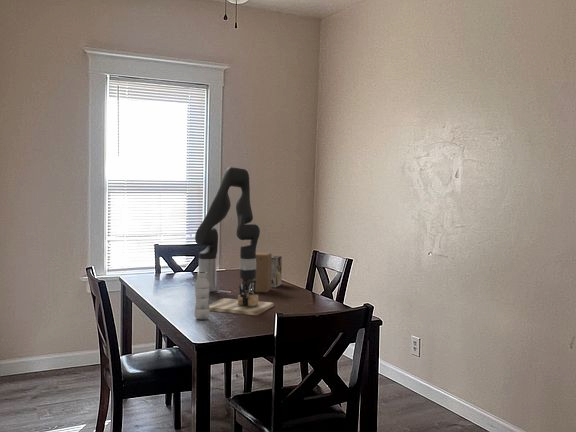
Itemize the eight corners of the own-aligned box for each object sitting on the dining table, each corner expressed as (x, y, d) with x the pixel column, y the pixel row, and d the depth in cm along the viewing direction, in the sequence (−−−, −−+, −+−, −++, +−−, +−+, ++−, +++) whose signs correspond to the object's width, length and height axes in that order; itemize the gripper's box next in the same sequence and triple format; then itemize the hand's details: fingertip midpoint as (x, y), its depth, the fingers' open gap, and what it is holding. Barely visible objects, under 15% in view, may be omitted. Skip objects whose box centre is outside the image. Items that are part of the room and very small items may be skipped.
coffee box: (270, 283, 329) (271, 255, 328) (281, 284, 327) (282, 256, 326) (265, 286, 320) (265, 257, 319) (276, 287, 318) (276, 258, 317)
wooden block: (267, 293, 303) (267, 255, 301) (248, 292, 305) (248, 254, 303) (271, 289, 313) (271, 252, 311) (253, 288, 315) (253, 251, 313)
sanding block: (237, 305, 266) (237, 295, 266) (242, 303, 271) (242, 293, 271) (253, 306, 264) (253, 296, 263) (258, 304, 268) (258, 294, 268)
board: (204, 310, 264) (204, 306, 264) (223, 301, 283) (223, 298, 283) (257, 315, 255) (257, 312, 255) (273, 305, 274) (273, 302, 274)
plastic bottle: (194, 317, 251) (194, 271, 249) (210, 317, 251) (210, 271, 250) (193, 321, 244) (193, 274, 243) (209, 321, 245) (210, 274, 243)
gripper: (246, 265, 274) (246, 300, 275) (233, 269, 261) (233, 307, 262) (261, 266, 272) (261, 302, 273) (249, 270, 258) (249, 308, 259)
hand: (247, 304), depth 267 cm, fingers closed on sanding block, 5 cm apart
